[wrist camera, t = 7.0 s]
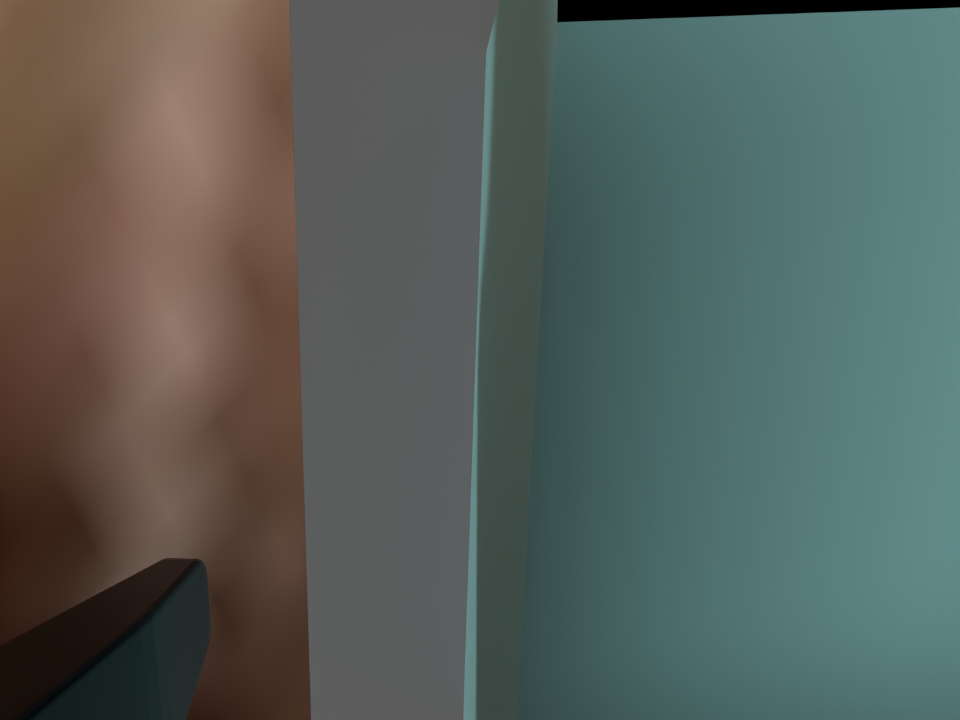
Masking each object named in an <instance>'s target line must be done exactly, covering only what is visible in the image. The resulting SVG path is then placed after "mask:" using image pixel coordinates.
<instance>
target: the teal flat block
mask: <svg viewBox="0 0 960 720" xmlns="http://www.w3.org/2000/svg"><path fill="white" fill-rule="evenodd" d="M463 720H960V0H500V1H499V4H498V8H497V12H496V16H495V20H494V24H493V27H492V31H491V35H490V39H489V43H488V47H487V50H486V71H485V100H484V129H483V158H482V187H481V216H480V245H479V274H478V303H477V332H476V361H475V389H474V418H473V447H472V476H471V505H470V534H469V563H468V592H467V621H466V650H465V679H464V718H463Z"/></svg>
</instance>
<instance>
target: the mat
mask: <svg viewBox="0 0 960 720" xmlns="http://www.w3.org/2000/svg"><path fill="white" fill-rule="evenodd" d="M289 1H290V34H291V67H292V101H293V134H294V167H295V200H296V233H297V266H298V299H299V332H300V365H301V398H302V431H303V464H304V497H305V531H306V564H307V597H308V630H309V663H310V696H311V720H463V718H464V679H465V650H466V621H467V592H468V563H469V534H470V505H471V476H472V447H473V418H474V389H475V361H476V332H477V303H478V274H479V245H480V216H481V187H482V158H483V129H484V100H485V71H486V50H487V47H488V43H489V39H490V35H491V31H492V27H493V24H494V20H495V16H496V12H497V8H498V4H499V1H500V0H289Z"/></svg>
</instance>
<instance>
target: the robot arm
mask: <svg viewBox="0 0 960 720" xmlns="http://www.w3.org/2000/svg"><path fill="white" fill-rule="evenodd" d="M210 630H211V622H210V608H209V594H208V579H207V570H206V567H205V564H204V563H203V562H202V561H201V560H199V559H184V558H167V559H163V560H161V561H159V562H157V563H155V564H153V565H151V566H150V567H148V568H146V569H144V570H142V571H140V572H138V573H136V574H134V575H133V576H131V577H129V578H127V579H125V580H123V581H121V582H119V583H117V584H116V585H114V586H112V587H110V588H108V589H106V590H104V591H102V592H100V593H99V594H97V595H95V596H93V597H91V598H89V599H87V600H85V601H83V602H82V603H80V604H78V605H76V606H74V607H72V608H70V609H68V610H66V611H64V612H63V613H61V614H59V615H57V616H55V617H53V618H51V619H49V620H47V621H46V622H44V623H42V624H40V625H38V626H36V627H34V628H32V629H30V630H29V631H27V632H25V633H23V634H21V635H19V636H17V637H15V638H13V639H12V640H10V641H8V642H6V643H4V644H2V645H0V720H186V717H187V714H188V711H189V708H190V704H191V701H192V698H193V695H194V691H195V688H196V685H197V682H198V678H199V675H200V672H201V669H202V665H203V662H204V659H205V656H206V652H207V649H208V645H209V640H210Z"/></svg>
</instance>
